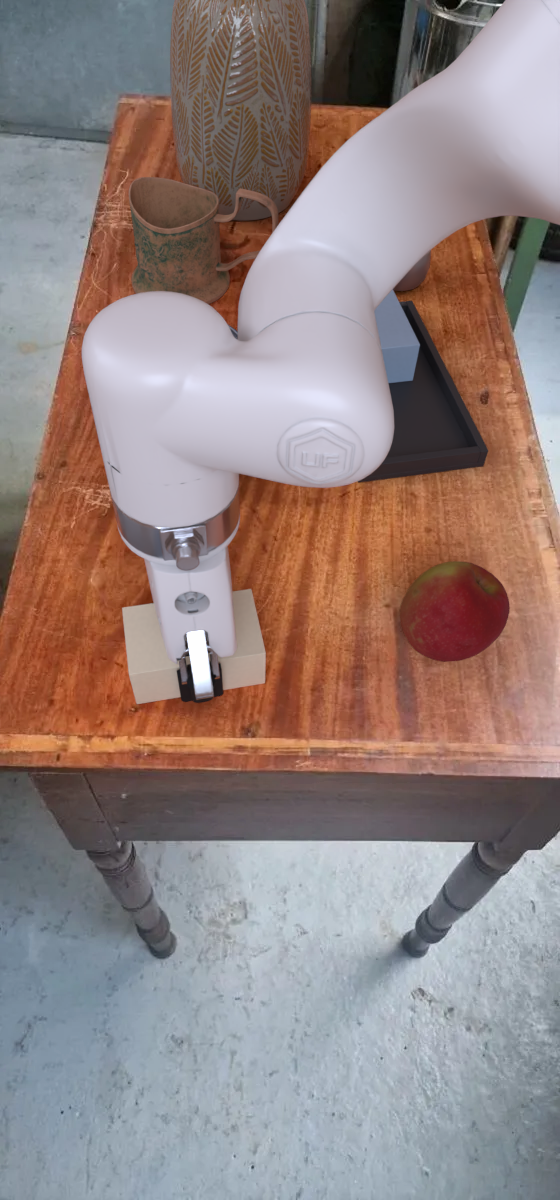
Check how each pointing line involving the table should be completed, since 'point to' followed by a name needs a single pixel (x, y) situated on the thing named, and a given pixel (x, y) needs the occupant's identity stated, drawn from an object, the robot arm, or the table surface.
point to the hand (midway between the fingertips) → (195, 657)
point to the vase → (241, 99)
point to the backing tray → (429, 418)
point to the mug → (183, 237)
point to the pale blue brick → (396, 340)
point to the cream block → (159, 673)
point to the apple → (454, 611)
